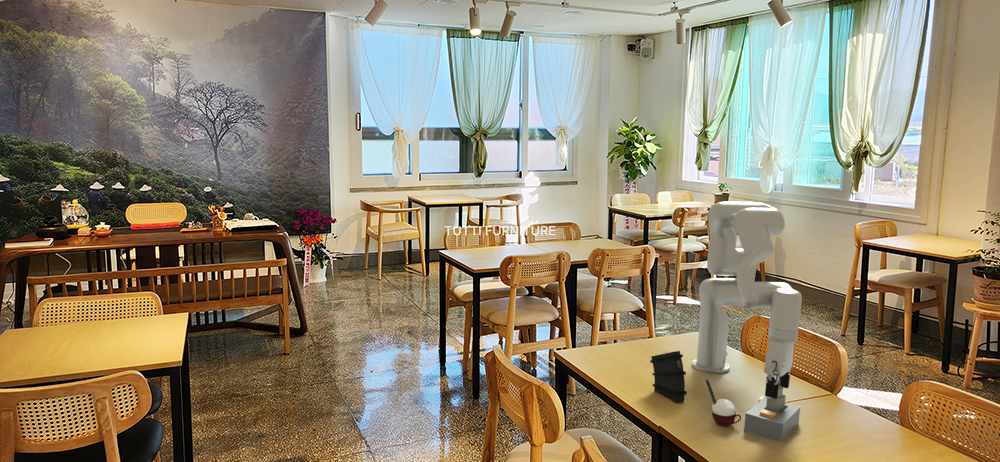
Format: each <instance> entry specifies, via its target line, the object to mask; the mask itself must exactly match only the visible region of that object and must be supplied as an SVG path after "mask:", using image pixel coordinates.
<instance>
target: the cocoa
mask: <svg viewBox="0 0 1000 462" xmlns="http://www.w3.org/2000/svg"><path fill="white" fill-rule="evenodd" d="M705 383H706V386H707V388H708V391H709V394H710V397H711V400H712V402H713V404H712V405H711V415H712V419H713V422H714V423H715V424H717V425H718V426H720V427H729V426H732V425H735V424H737V423H739V422H740V421H741V420H742V416H741V414H739V413H737V412H736V407H735V405H734V404H733V402H732V401H731V400H728V399H726V398H720V399H718V400H717V398H716V396H715V393H714V391H713V388H712V385H711V382H710V379H709V378H708V377H707V378H706V379H705ZM736 417H739V419H738V420H736Z"/></svg>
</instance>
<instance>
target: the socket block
mask: <svg viewBox="0 0 1000 462" xmlns="http://www.w3.org/2000/svg"><path fill="white" fill-rule="evenodd" d="M766 403H767V398H763V399H762V400H761V401H759V400H758V402H757V403H756V404H755V405H754V406H752V407H751V408H750V409H749V410H748V411H746V412H745V413H744V414H745V416H744V427H743V431H744V432H748V433H751V434H754V435H757V436H761V437H764V438H767V439H771V440H774V441H777V442H780V443H782V442H783V441H784V440H786V438H787V437H788V436H789V435H790V434H791V432H793V431H794V429H795V428H796V427H798V425H799V423H800V412H801V407H800V406H799V405H797V406H796V405H794V404H789V403H786V402H785V410H784V411H783V412H782V413H777V412H774V411H770V410H767V409H766Z"/></svg>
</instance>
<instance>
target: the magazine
mask: <svg viewBox="0 0 1000 462" xmlns="http://www.w3.org/2000/svg"><path fill="white" fill-rule="evenodd" d="M683 357H684V355H683V354H681V352H680V350H676V351H670V352H665V353H661V354H656V355H652V356H650V358H651V360H649V363H650V364H652V366H653V372H652V376H654V383H653V384H652V387H654V388H653V389H654V391H653V392H655V393H657V394H658V395H661V396H662V397H664V398H666V399H667V400H670V401H672V402H673V403H674V404H682V403H685V395H687V390H685V389H686V387H685V385H686V382H685V380H686V379H685V375H687V372H686V370H684V364H683V359H682V358H683Z"/></svg>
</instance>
